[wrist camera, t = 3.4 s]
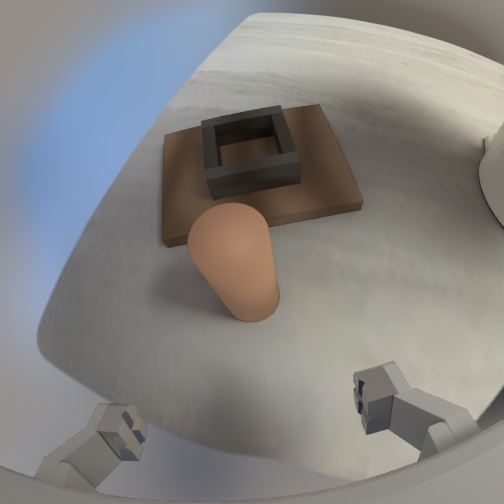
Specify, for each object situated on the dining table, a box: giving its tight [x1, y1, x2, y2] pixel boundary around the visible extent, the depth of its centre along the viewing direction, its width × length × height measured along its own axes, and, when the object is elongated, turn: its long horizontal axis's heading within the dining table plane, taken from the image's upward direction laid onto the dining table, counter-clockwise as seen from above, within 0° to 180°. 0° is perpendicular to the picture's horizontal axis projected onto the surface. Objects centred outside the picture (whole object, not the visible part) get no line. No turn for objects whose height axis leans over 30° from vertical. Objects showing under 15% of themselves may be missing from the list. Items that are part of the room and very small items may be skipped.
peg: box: [188, 203, 280, 322], centre depth 21 cm, size 4×4×10 cm
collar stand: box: [162, 104, 363, 248], centre depth 29 cm, size 18×14×4 cm
